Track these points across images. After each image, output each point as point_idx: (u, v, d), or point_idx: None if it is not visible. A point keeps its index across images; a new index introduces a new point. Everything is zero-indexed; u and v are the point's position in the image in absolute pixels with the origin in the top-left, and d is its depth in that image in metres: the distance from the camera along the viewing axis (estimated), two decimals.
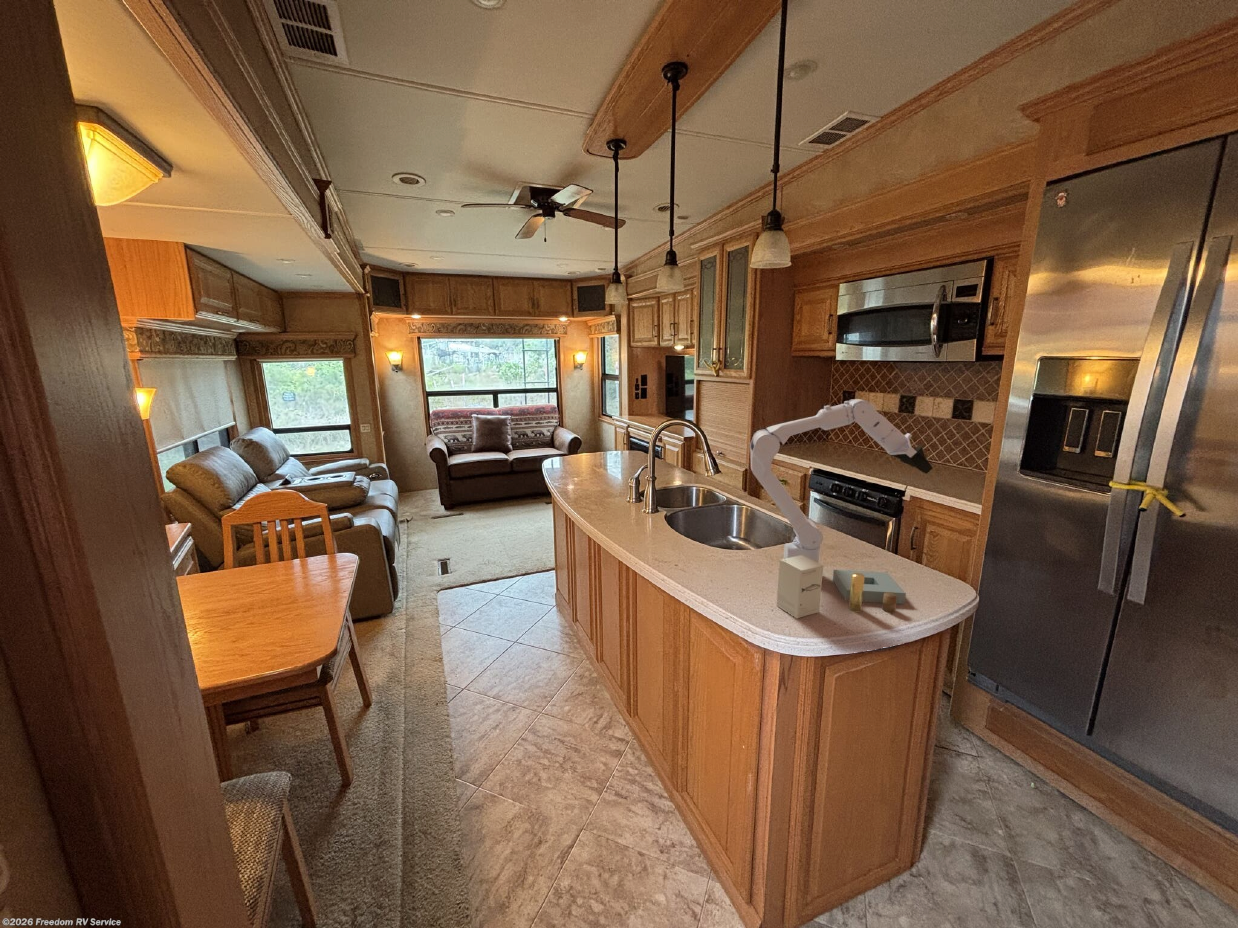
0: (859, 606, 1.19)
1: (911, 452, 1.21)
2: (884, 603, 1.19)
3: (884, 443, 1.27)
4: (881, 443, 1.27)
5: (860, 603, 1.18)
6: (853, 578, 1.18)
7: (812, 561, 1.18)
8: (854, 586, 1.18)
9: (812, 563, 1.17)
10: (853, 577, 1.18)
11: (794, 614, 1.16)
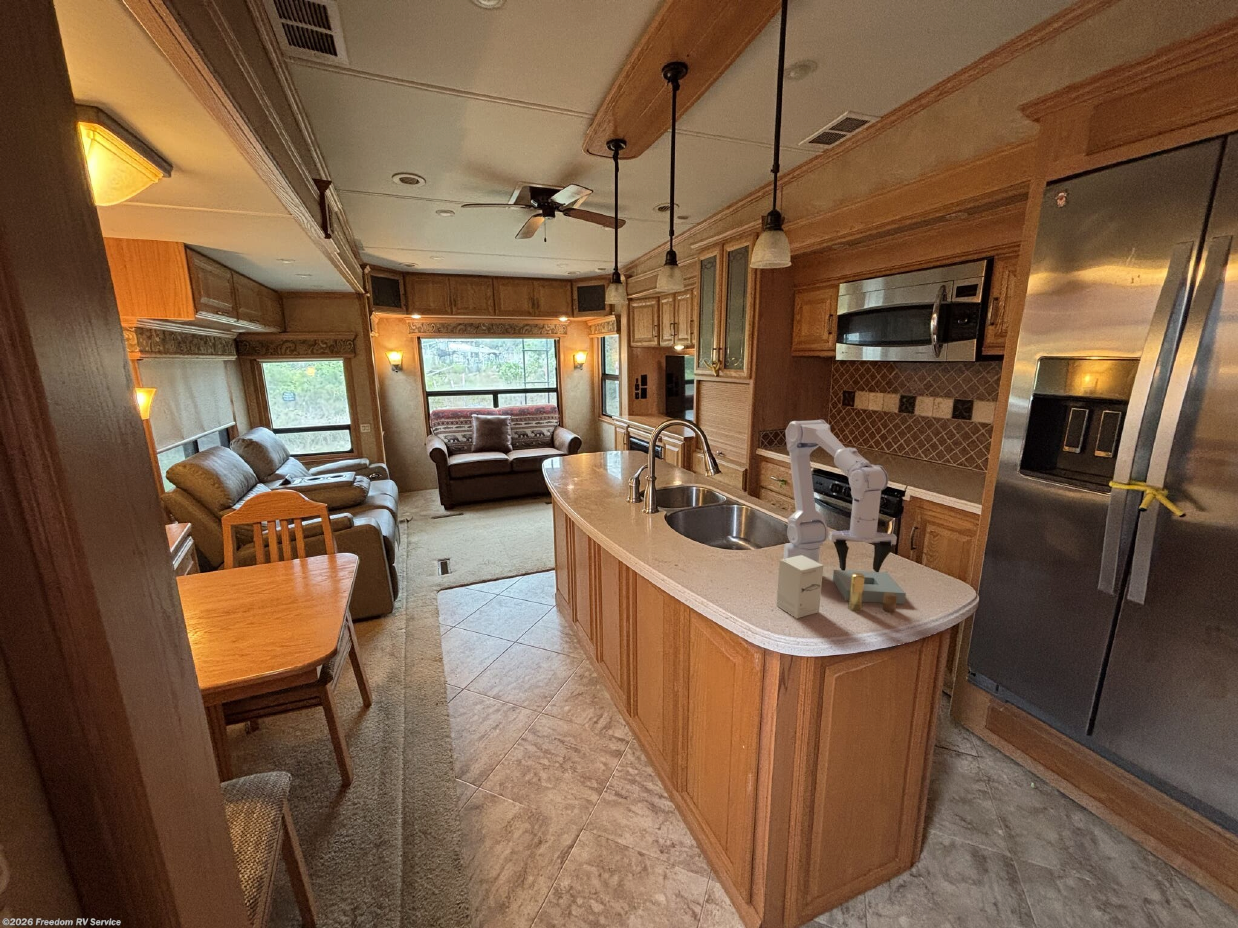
0: (859, 606, 1.19)
1: (830, 536, 1.17)
2: (884, 603, 1.19)
3: None
4: None
5: (860, 603, 1.18)
6: (853, 578, 1.18)
7: (812, 561, 1.18)
8: (854, 586, 1.18)
9: (812, 563, 1.17)
10: (853, 577, 1.18)
11: (794, 614, 1.16)
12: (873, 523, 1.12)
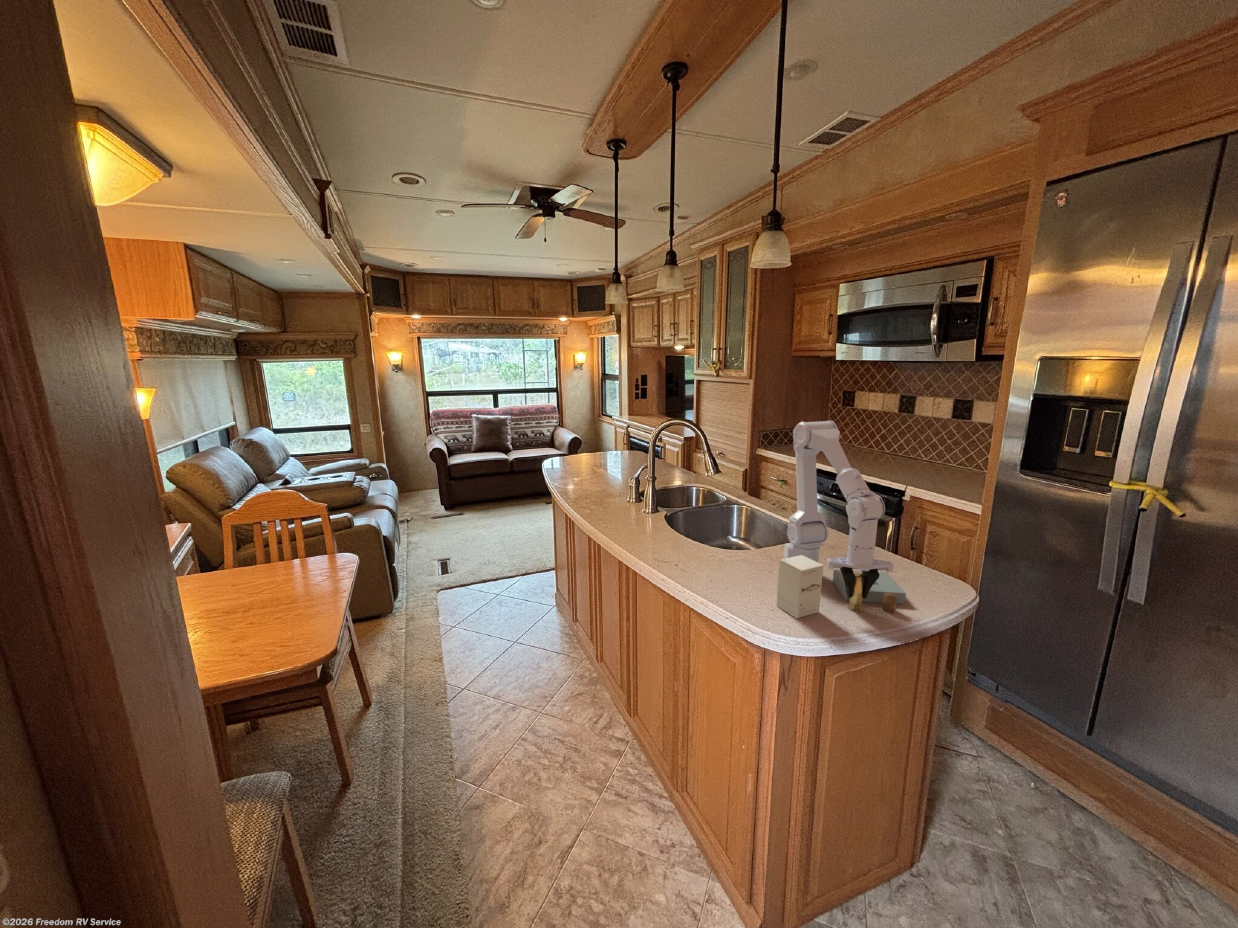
0: (859, 606, 1.19)
1: (827, 563, 1.19)
2: (884, 603, 1.19)
3: None
4: None
5: (860, 603, 1.18)
6: None
7: (812, 561, 1.18)
8: (854, 586, 1.18)
9: (812, 563, 1.17)
10: None
11: (794, 614, 1.16)
12: (870, 551, 1.14)
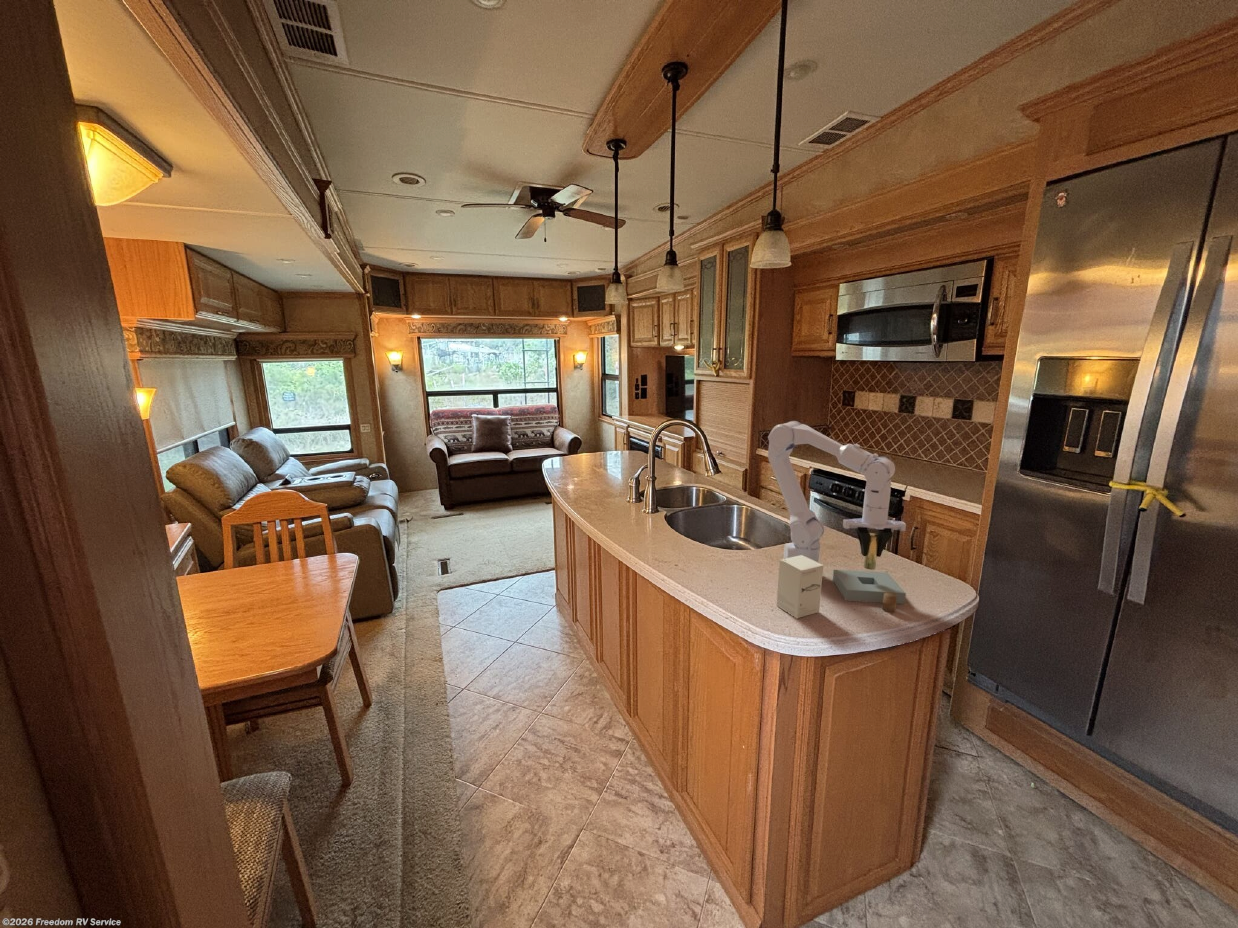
0: (873, 564, 1.26)
1: (844, 524, 1.26)
2: (884, 603, 1.19)
3: None
4: None
5: (874, 561, 1.26)
6: None
7: (812, 561, 1.18)
8: (869, 545, 1.25)
9: (812, 563, 1.17)
10: None
11: (794, 614, 1.16)
12: (884, 511, 1.21)
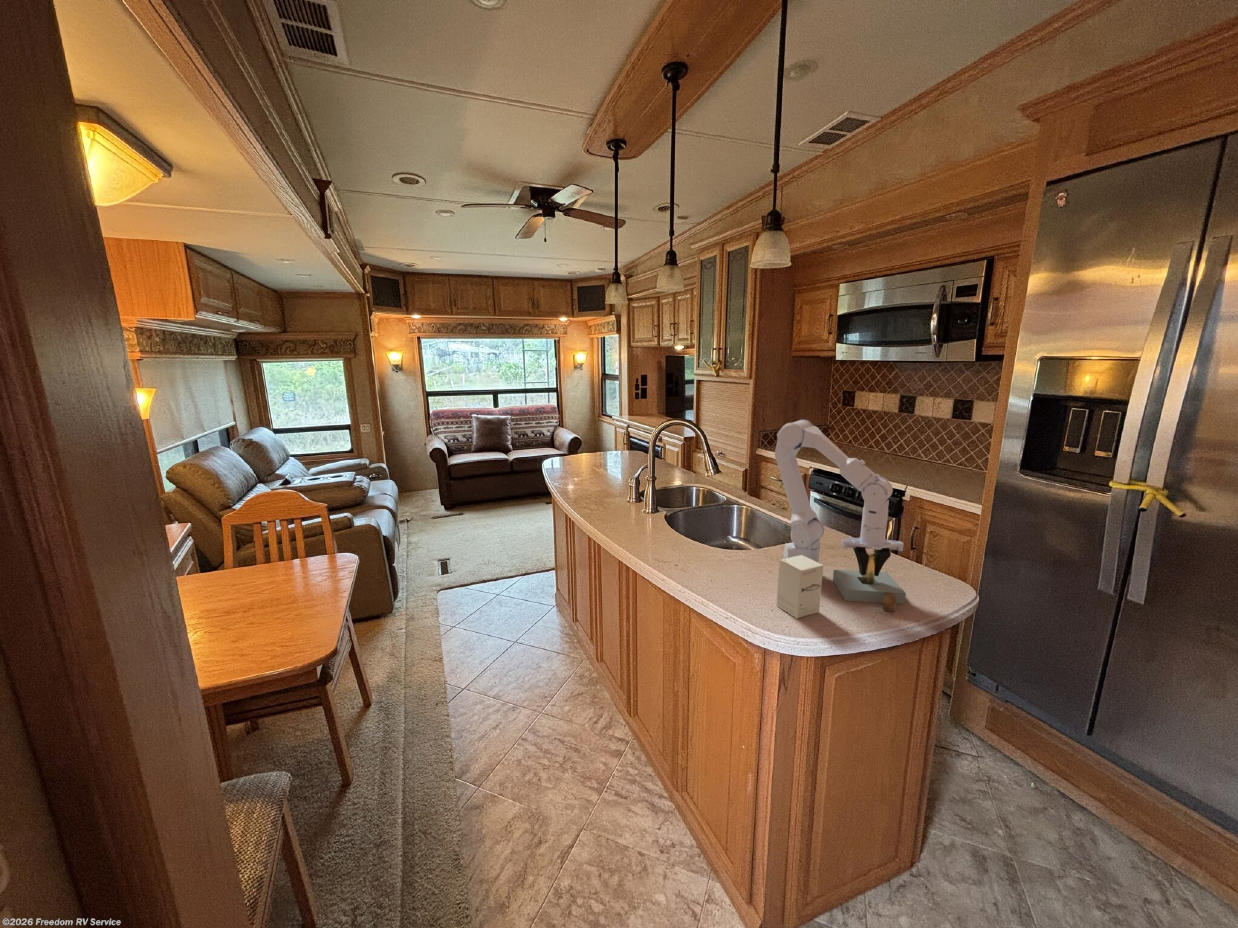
0: None
1: (842, 543, 1.27)
2: (884, 603, 1.19)
3: None
4: None
5: (872, 581, 1.27)
6: None
7: (812, 561, 1.18)
8: (867, 564, 1.26)
9: (812, 563, 1.17)
10: None
11: (794, 614, 1.16)
12: (882, 531, 1.22)
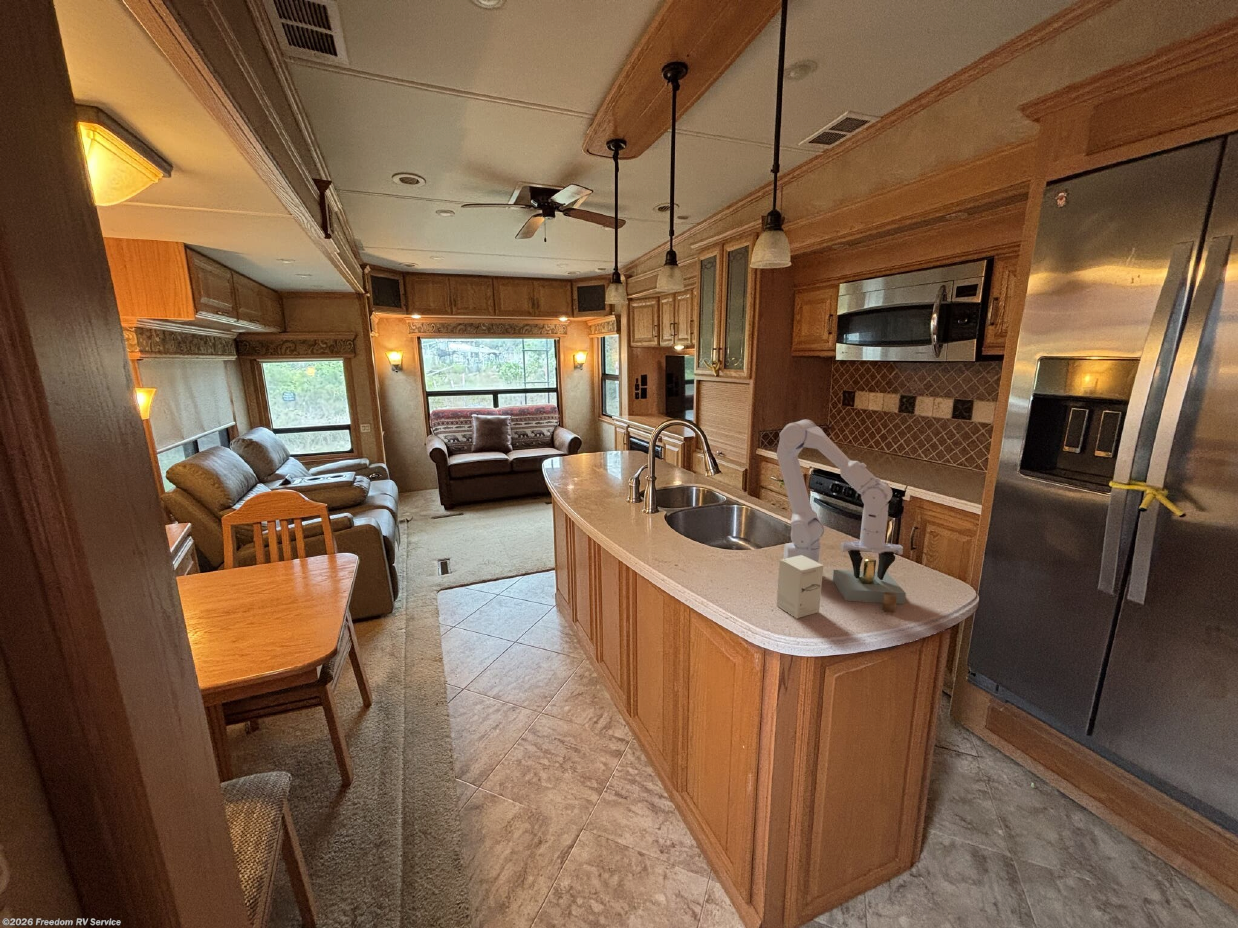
0: None
1: (842, 547, 1.27)
2: (884, 603, 1.19)
3: None
4: None
5: None
6: (865, 562, 1.27)
7: (812, 561, 1.18)
8: (866, 569, 1.26)
9: (812, 563, 1.17)
10: (865, 561, 1.27)
11: (794, 614, 1.16)
12: (881, 535, 1.23)
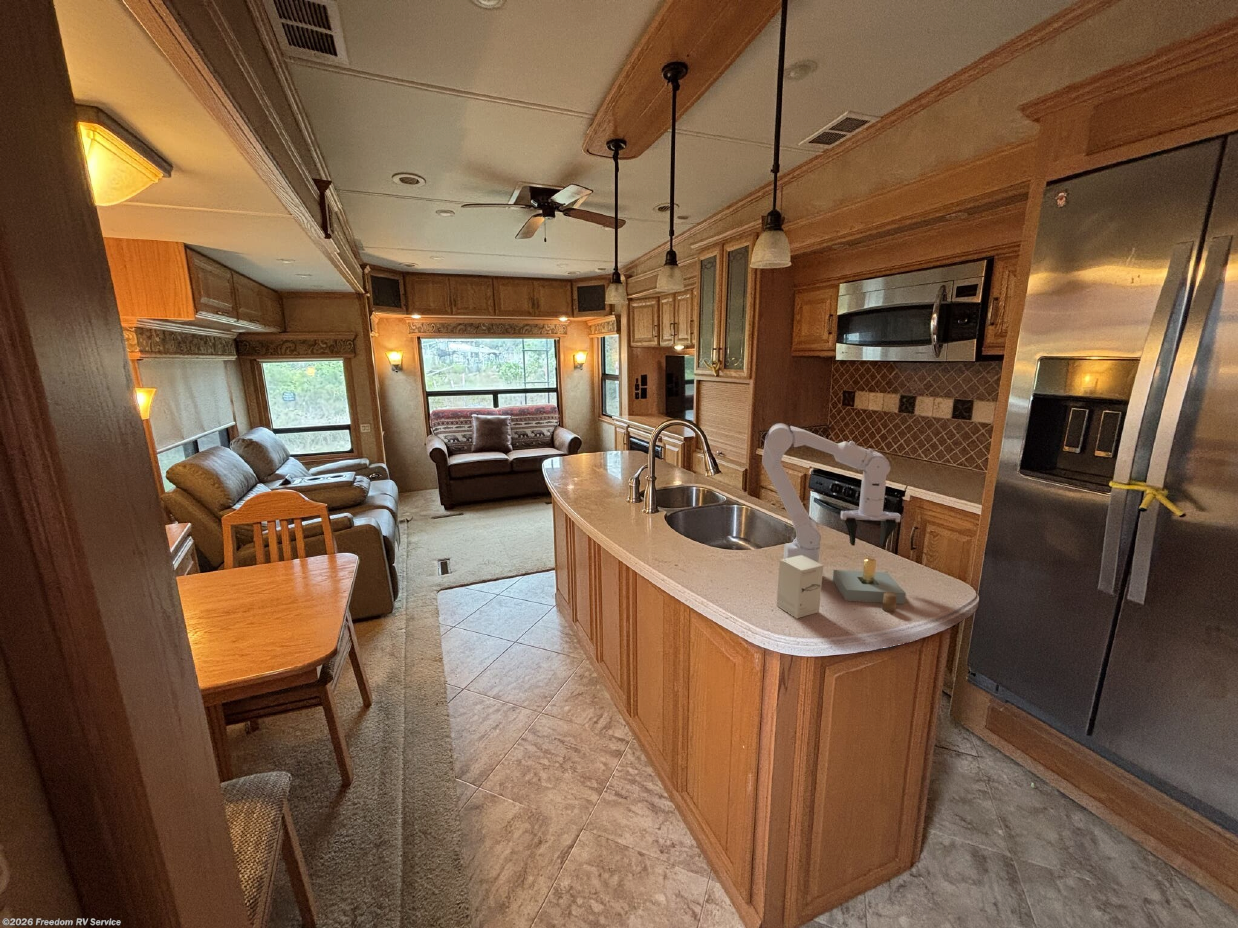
0: None
1: (841, 515, 1.32)
2: (884, 603, 1.19)
3: None
4: None
5: None
6: (865, 562, 1.27)
7: (812, 561, 1.18)
8: (866, 569, 1.26)
9: (812, 563, 1.17)
10: (865, 561, 1.27)
11: (794, 614, 1.16)
12: (879, 503, 1.27)
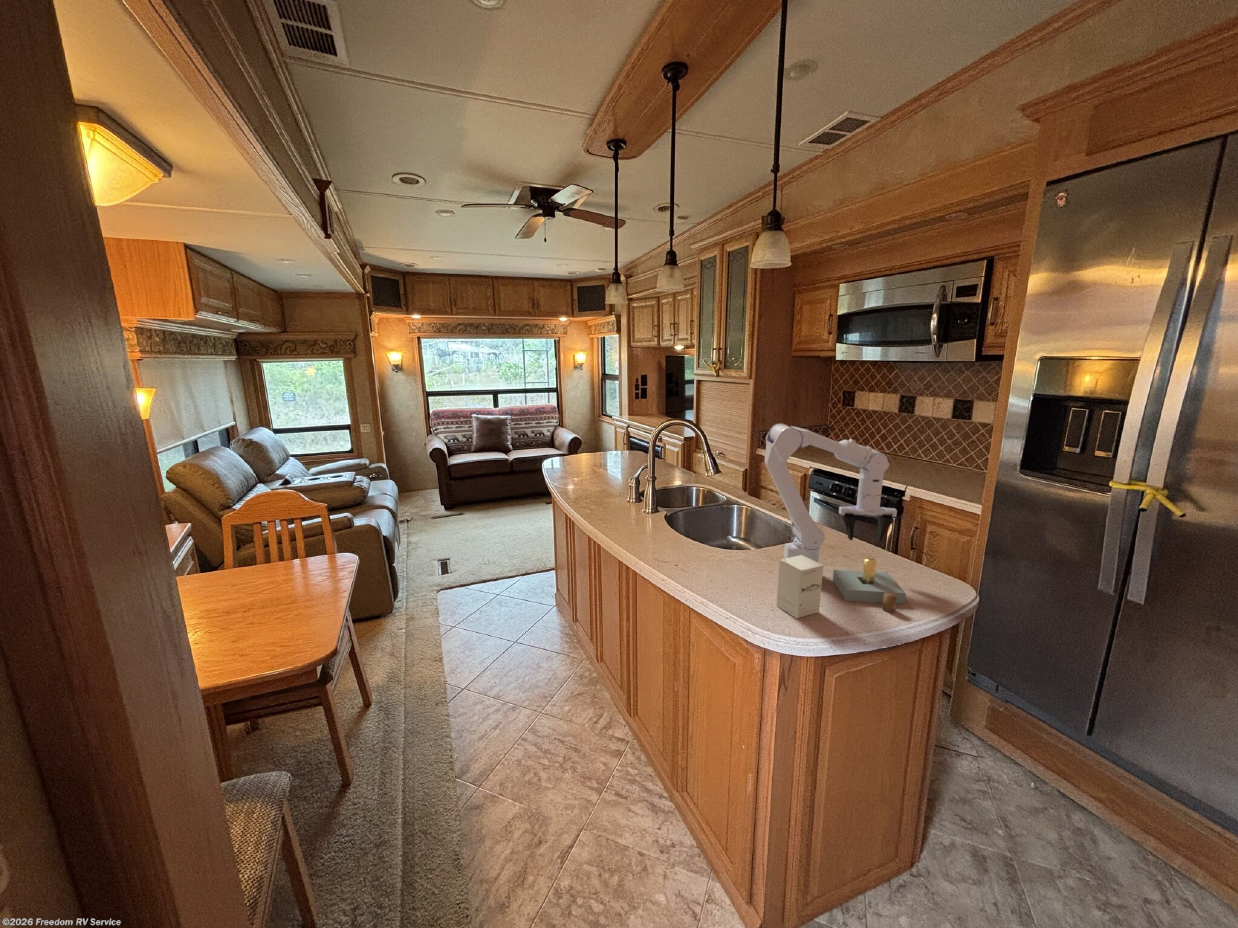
0: None
1: (840, 510, 1.36)
2: (884, 603, 1.19)
3: None
4: None
5: None
6: (865, 562, 1.27)
7: (812, 561, 1.18)
8: (866, 569, 1.26)
9: (812, 563, 1.17)
10: (865, 561, 1.27)
11: (794, 614, 1.16)
12: (877, 498, 1.31)
